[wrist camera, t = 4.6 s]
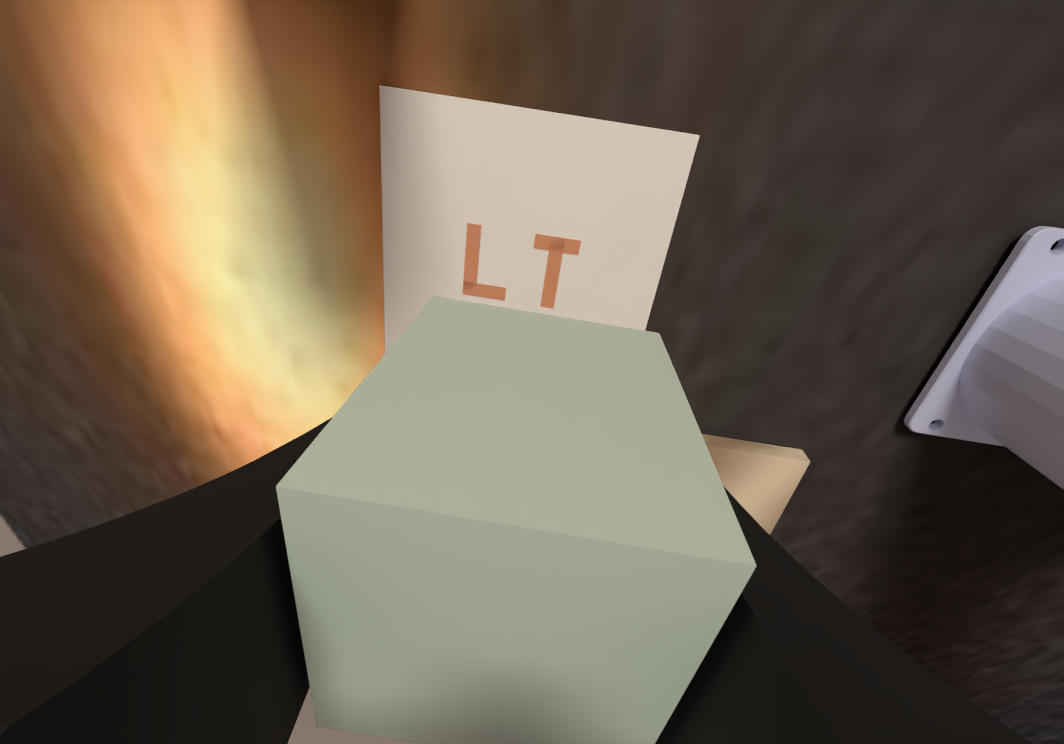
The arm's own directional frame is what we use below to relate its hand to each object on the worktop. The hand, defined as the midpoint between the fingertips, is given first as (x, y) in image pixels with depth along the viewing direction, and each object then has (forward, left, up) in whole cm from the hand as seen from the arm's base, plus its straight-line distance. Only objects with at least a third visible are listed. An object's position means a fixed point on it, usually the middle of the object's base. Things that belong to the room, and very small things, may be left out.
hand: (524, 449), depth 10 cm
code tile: (+1, -1, -9) cm, 9 cm away
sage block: (0, 0, -2) cm, 2 cm away
